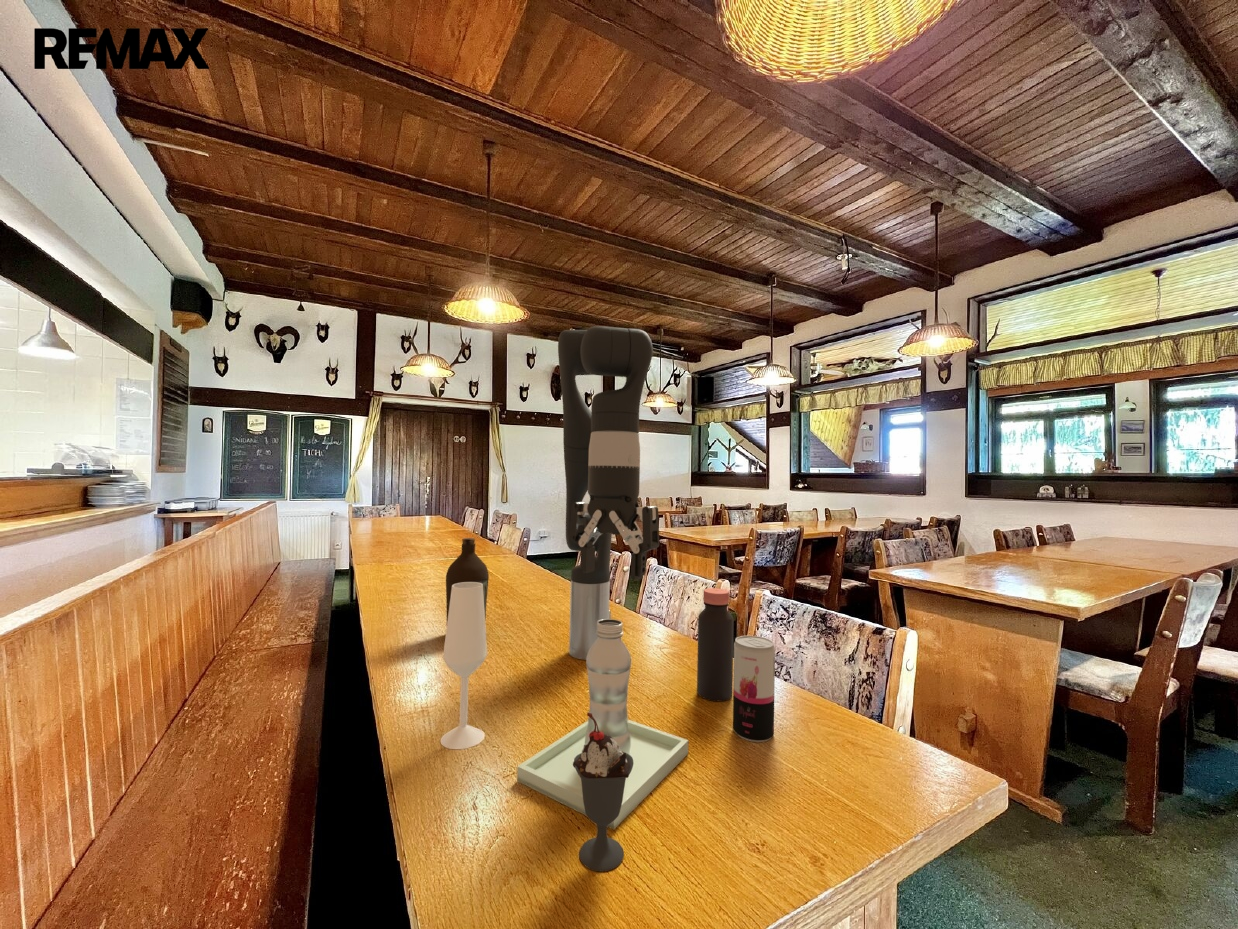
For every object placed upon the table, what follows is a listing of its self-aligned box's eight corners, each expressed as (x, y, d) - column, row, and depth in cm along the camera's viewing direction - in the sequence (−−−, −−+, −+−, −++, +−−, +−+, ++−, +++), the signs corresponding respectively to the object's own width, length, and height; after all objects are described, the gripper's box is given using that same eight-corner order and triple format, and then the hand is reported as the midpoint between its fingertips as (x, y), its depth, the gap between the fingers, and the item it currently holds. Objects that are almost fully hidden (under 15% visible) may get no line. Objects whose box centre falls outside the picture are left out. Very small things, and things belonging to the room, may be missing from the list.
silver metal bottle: (626, 778, 68) (629, 630, 68) (578, 772, 69) (581, 627, 70) (634, 753, 74) (636, 618, 74) (590, 747, 75) (592, 614, 76)
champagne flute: (439, 731, 80) (443, 582, 81) (481, 724, 83) (485, 579, 83) (441, 753, 74) (446, 591, 75) (487, 744, 77) (492, 588, 77)
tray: (602, 722, 84) (602, 710, 84) (688, 753, 75) (688, 740, 75) (517, 781, 68) (517, 766, 68) (614, 829, 59) (614, 812, 59)
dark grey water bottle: (739, 694, 96) (740, 591, 97) (720, 705, 92) (722, 596, 92) (709, 684, 101) (710, 585, 102) (690, 694, 96) (691, 590, 97)
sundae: (570, 834, 58) (574, 703, 58) (628, 832, 58) (630, 703, 59) (570, 880, 51) (573, 732, 52) (634, 877, 52) (637, 731, 52)
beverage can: (751, 747, 77) (753, 650, 78) (724, 728, 83) (726, 638, 84) (782, 738, 81) (783, 644, 81) (754, 720, 86) (755, 633, 87)
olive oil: (436, 635, 128) (440, 538, 129) (474, 627, 136) (477, 535, 136) (455, 645, 121) (459, 542, 121) (494, 636, 128) (497, 539, 129)
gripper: (669, 465, 72) (667, 578, 71) (590, 464, 79) (588, 566, 79) (642, 463, 65) (640, 587, 65) (560, 463, 73) (557, 573, 73)
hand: (611, 575), depth 72 cm, fingers open, 8 cm apart
